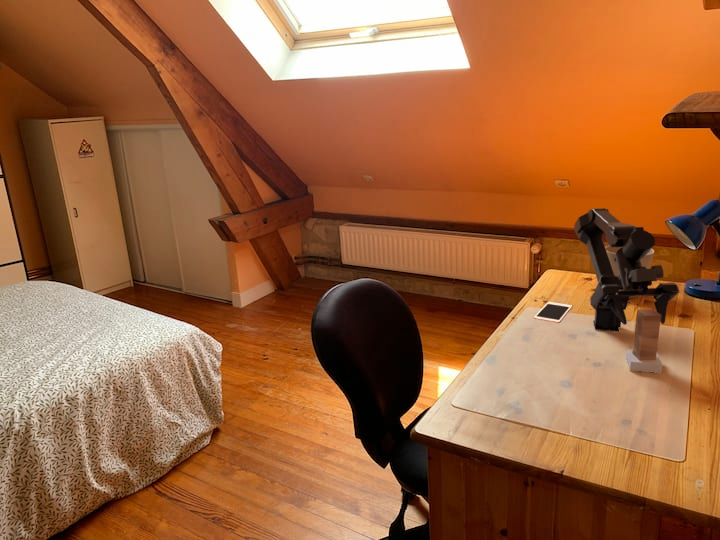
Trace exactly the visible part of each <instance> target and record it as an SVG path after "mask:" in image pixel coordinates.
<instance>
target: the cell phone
mask: <svg viewBox="0 0 720 540" xmlns="http://www.w3.org/2000/svg"><path fill="white" fill-rule="evenodd" d="M572 307H573V305H572V304H566V303H559V302H553V301H547V303H546V304H544V306H543V307H542V308H541V309H540V310H539V311H538V312H537V314H535V315H534V316H533V319H535V320H540V321H546V322H552V323H560V322H562V320H563V318H564V317H565V316H566V315H567V314H568V313H569V311H570V310H571V309H572Z"/></svg>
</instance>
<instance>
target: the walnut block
mask: <svg viewBox="0 0 720 540" xmlns="http://www.w3.org/2000/svg"><path fill="white" fill-rule="evenodd" d="M660 328H661V314H659V313H658V312H657V311H656V309H654V308H652V309H651V308H644V309H636V316H635V323H634V335H633V344H632V350H633V351H632V354H633V355H634V356H635V357H636V358H637V359H638V360H639V361H640V360H656V354H658V345H659V344H658V343H659V336H660V330H661V329H660Z"/></svg>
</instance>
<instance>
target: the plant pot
mask: <svg viewBox="0 0 720 540" xmlns="http://www.w3.org/2000/svg"><path fill="white" fill-rule="evenodd" d="M605 248H606V251H607V254H608V257H609V260H610V263H611V266H612V269H613V272H614V275H615V276H619V275H620V273H619V269H618V265H617V261H614V256H615V254H616V252H617V251H618V250H619V249H620V248H622V247H610V246H609V245H608V246H605ZM654 255H655V249H653V248H652V249H651V250H650V251H649V252H648V253H647V255H646V256H645V257H644V258H643V259H641V262H642V266H643V267H645V268H646V269H651V268H650V267H651V265H652V262H653V258H654ZM636 297H637V296H629V299H634V298H636Z"/></svg>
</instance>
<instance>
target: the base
mask: <svg viewBox="0 0 720 540" xmlns="http://www.w3.org/2000/svg"><path fill="white" fill-rule="evenodd" d="M632 351H633V349H626V351H625V352H626V353H625V361H626V360H627V361H626V364H627V363H628V364H627V367H628V366H629V367H628V369H630V370H631V371H630V370H629V371H630V372H638V371H642V372H641V373H649V372H656V373H655V374H660V373H661V374H662V371H663V370H662V369H663V363H662V361H661V359H660V356H659V354H658V353H657V354H656V360H640V361H639V360H638V359H637V358H636V357H635V356H634V355H633V354H632Z"/></svg>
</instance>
